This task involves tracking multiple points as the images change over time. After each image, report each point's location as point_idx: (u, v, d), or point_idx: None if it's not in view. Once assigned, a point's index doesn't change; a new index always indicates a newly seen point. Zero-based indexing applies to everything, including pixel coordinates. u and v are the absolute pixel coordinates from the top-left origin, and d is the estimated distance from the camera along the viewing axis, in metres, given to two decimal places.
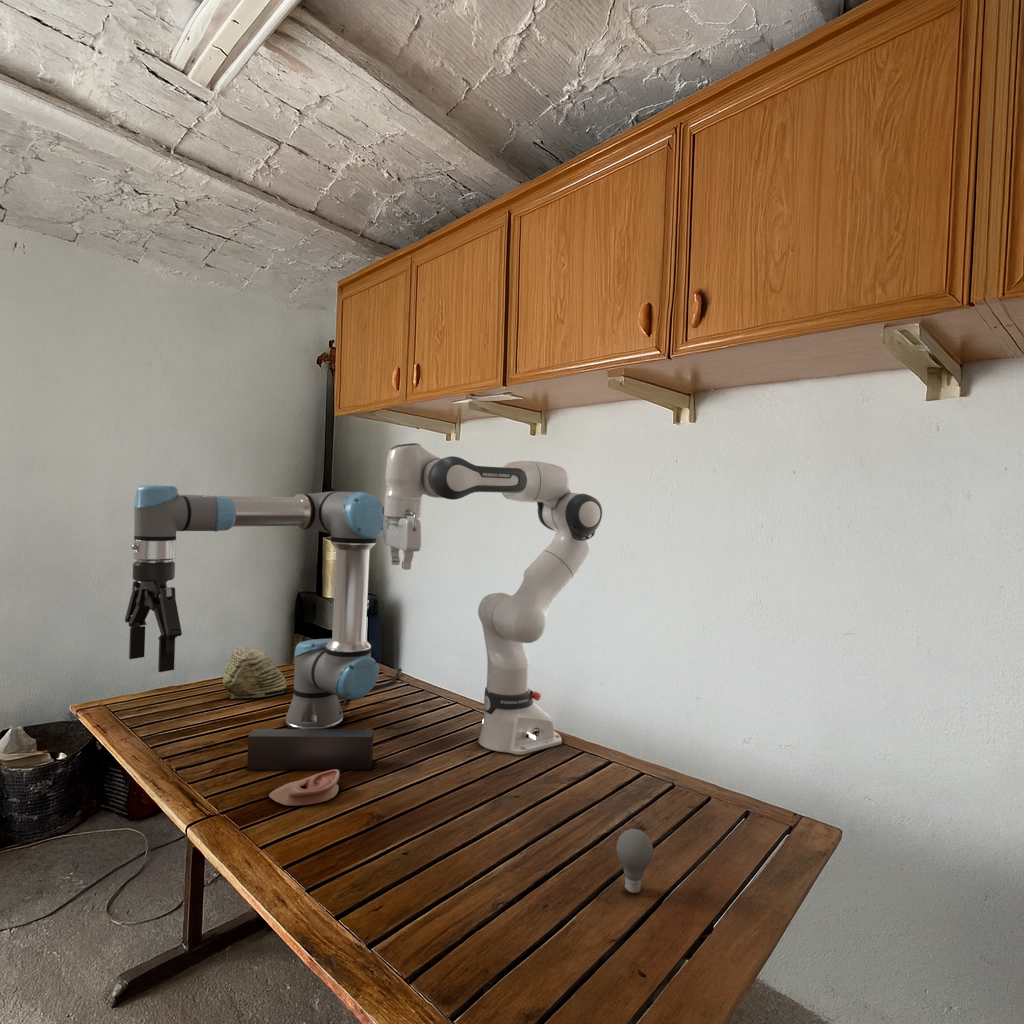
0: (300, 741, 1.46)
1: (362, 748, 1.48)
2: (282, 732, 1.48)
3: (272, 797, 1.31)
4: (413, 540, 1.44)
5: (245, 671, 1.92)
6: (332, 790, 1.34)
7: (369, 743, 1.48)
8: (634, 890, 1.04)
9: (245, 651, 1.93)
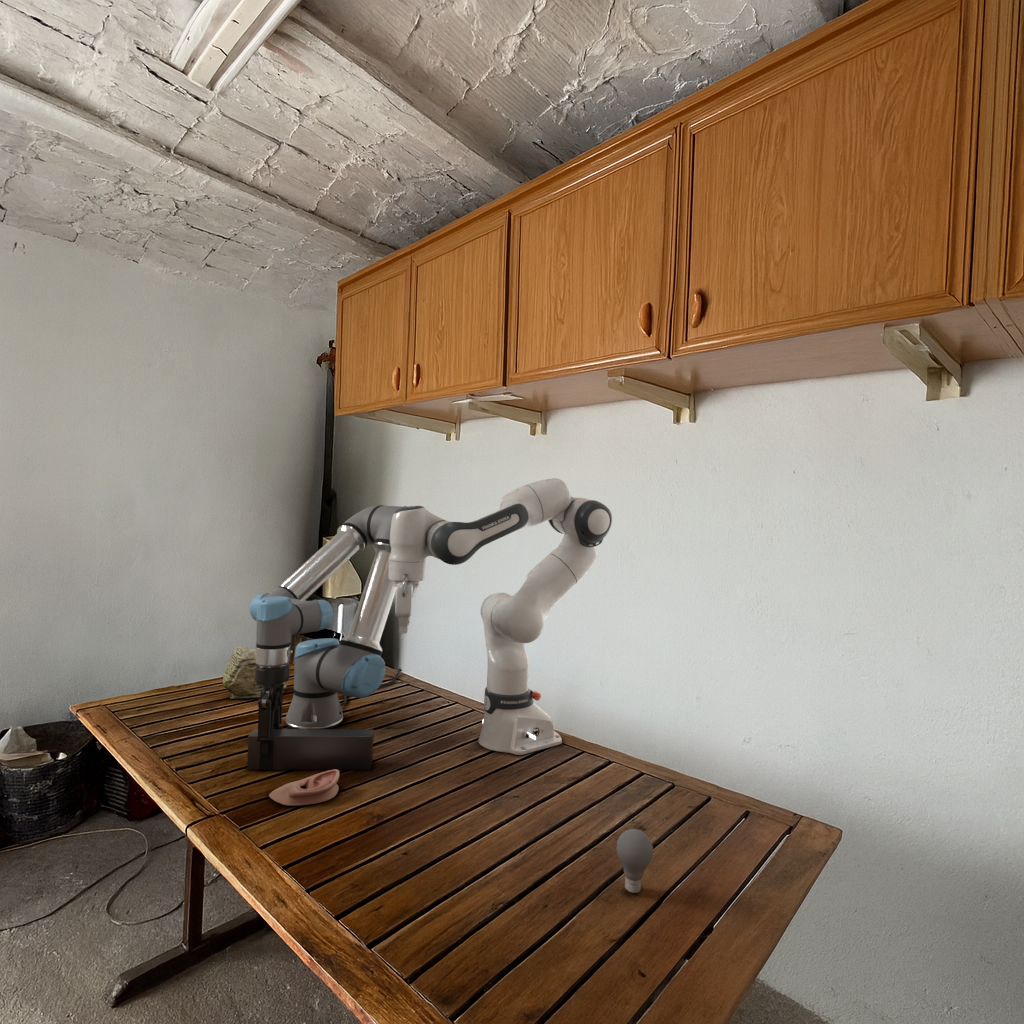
0: (300, 741, 1.46)
1: (362, 748, 1.48)
2: (282, 732, 1.48)
3: (272, 797, 1.31)
4: (402, 606, 1.44)
5: (245, 671, 1.92)
6: (332, 790, 1.34)
7: (369, 743, 1.48)
8: (634, 890, 1.04)
9: (245, 651, 1.93)
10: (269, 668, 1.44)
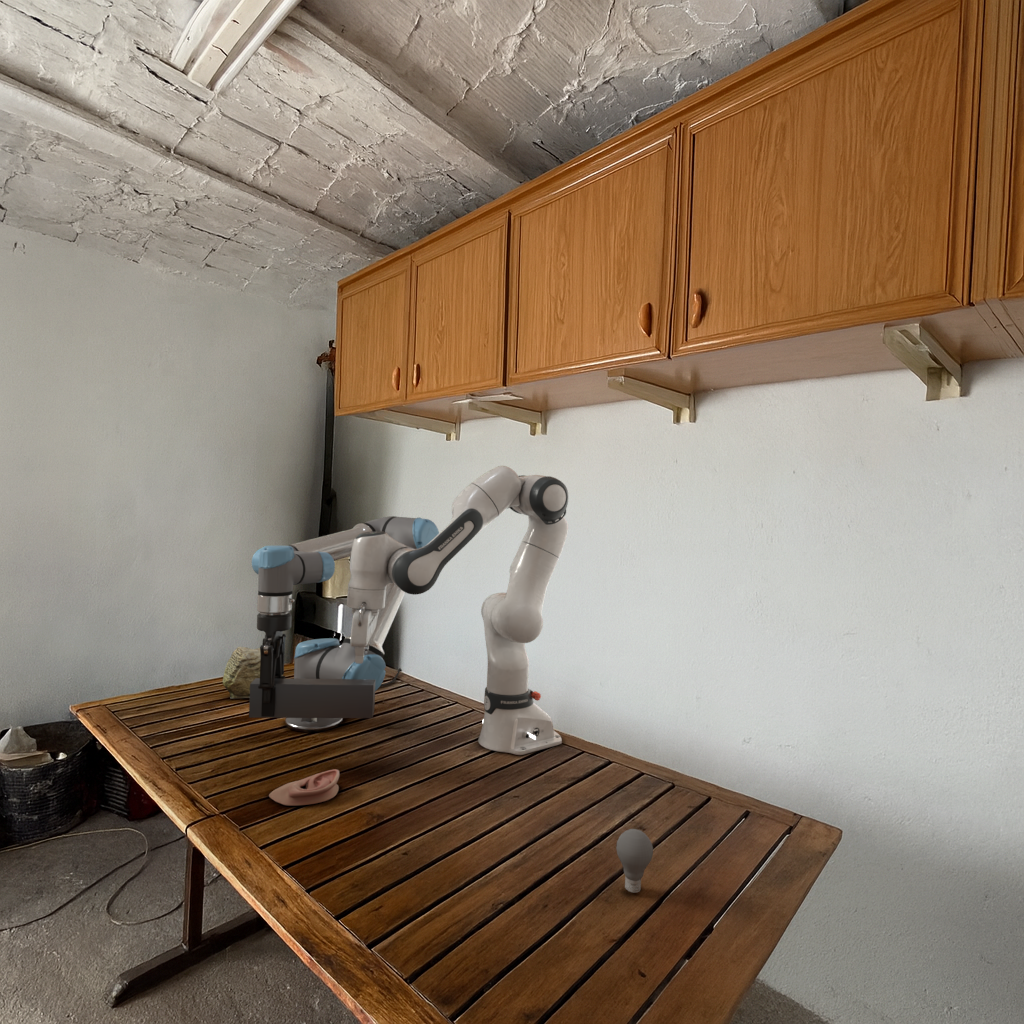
0: (302, 689, 1.46)
1: (364, 696, 1.48)
2: (284, 680, 1.48)
3: (272, 797, 1.31)
4: (357, 636, 1.40)
5: (245, 671, 1.92)
6: (332, 790, 1.34)
7: (371, 692, 1.48)
8: (634, 890, 1.04)
9: (245, 651, 1.93)
10: (271, 616, 1.44)
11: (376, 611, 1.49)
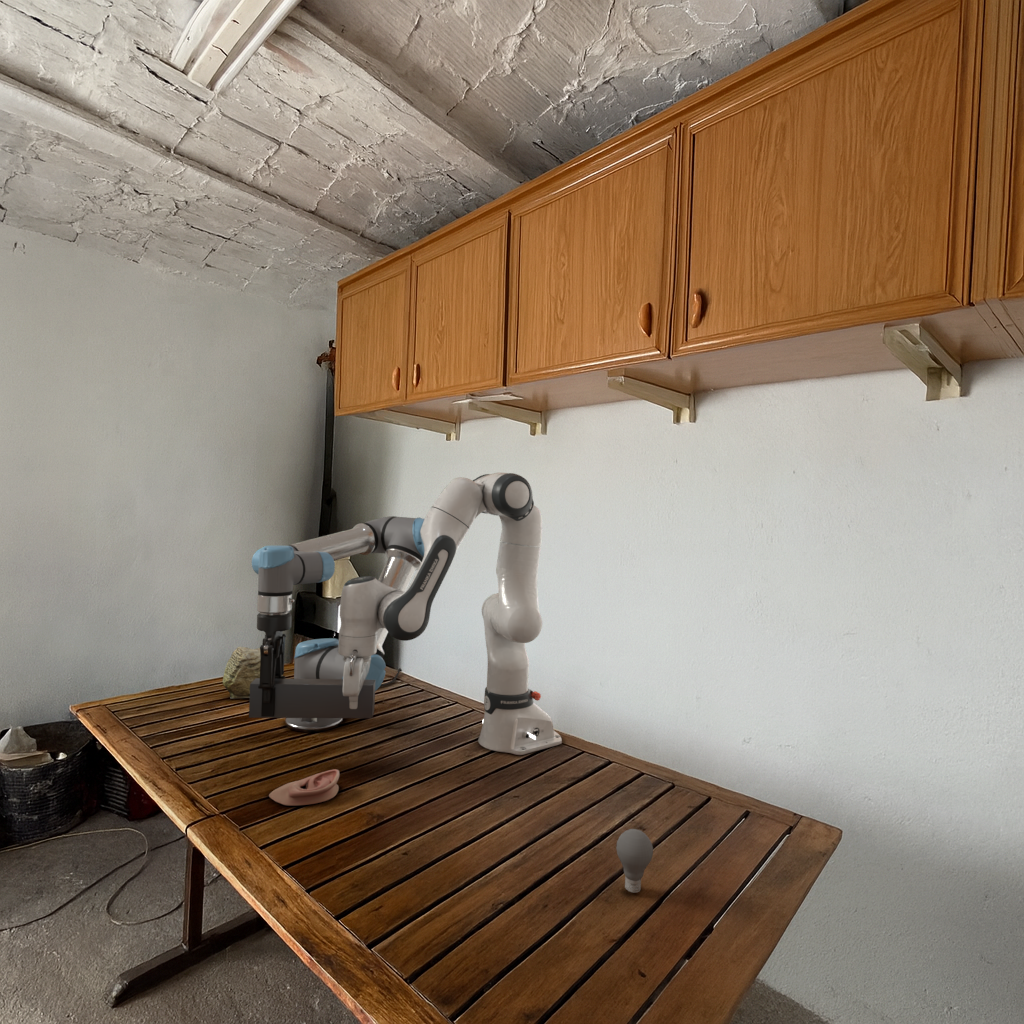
0: (301, 689, 1.46)
1: (364, 697, 1.47)
2: (284, 680, 1.48)
3: (272, 797, 1.31)
4: (349, 686, 1.40)
5: (245, 671, 1.92)
6: (332, 790, 1.34)
7: (371, 692, 1.48)
8: (634, 890, 1.04)
9: (245, 651, 1.93)
10: (271, 616, 1.44)
11: (368, 657, 1.48)
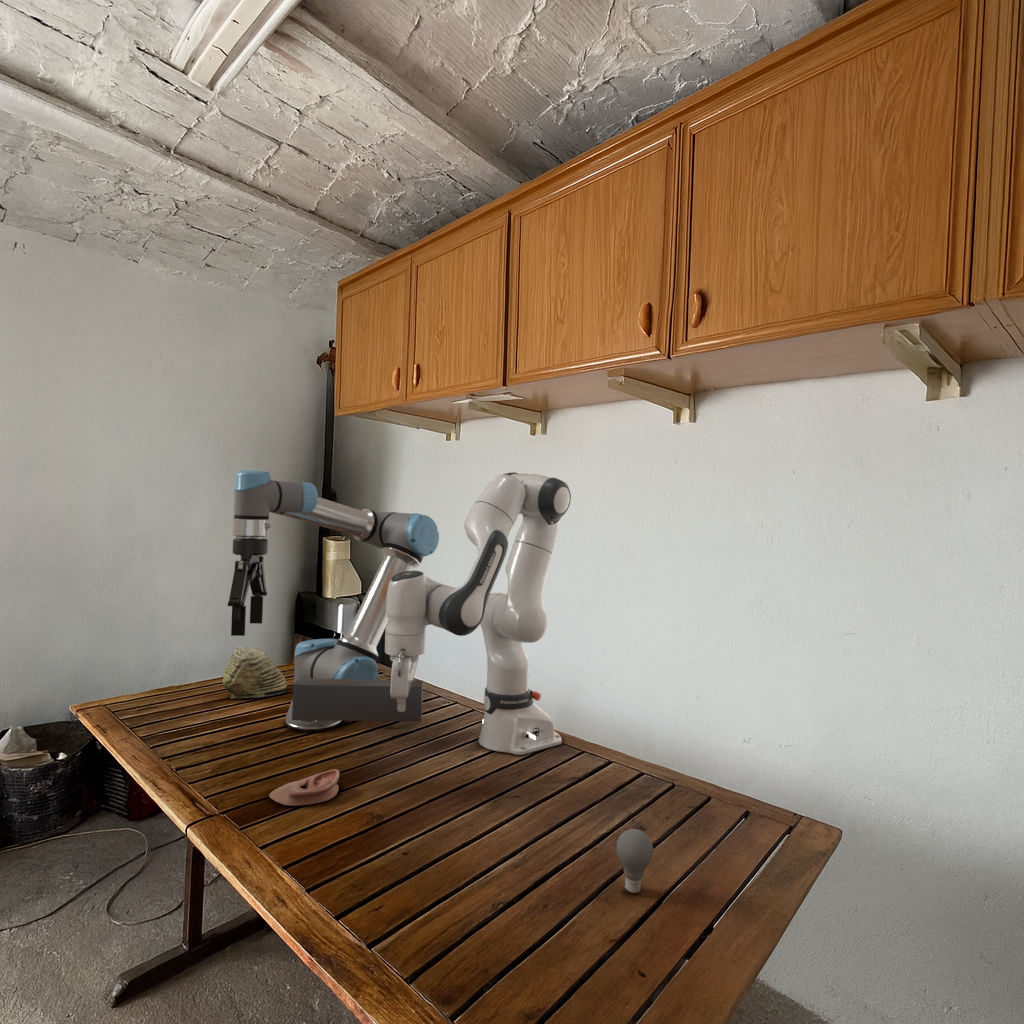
0: (347, 690, 1.38)
1: (412, 699, 1.39)
2: (328, 681, 1.40)
3: (272, 797, 1.31)
4: (398, 687, 1.31)
5: (245, 671, 1.92)
6: (332, 790, 1.34)
7: (419, 694, 1.39)
8: (634, 890, 1.04)
9: (245, 651, 1.93)
10: (246, 539, 1.43)
11: (416, 657, 1.40)
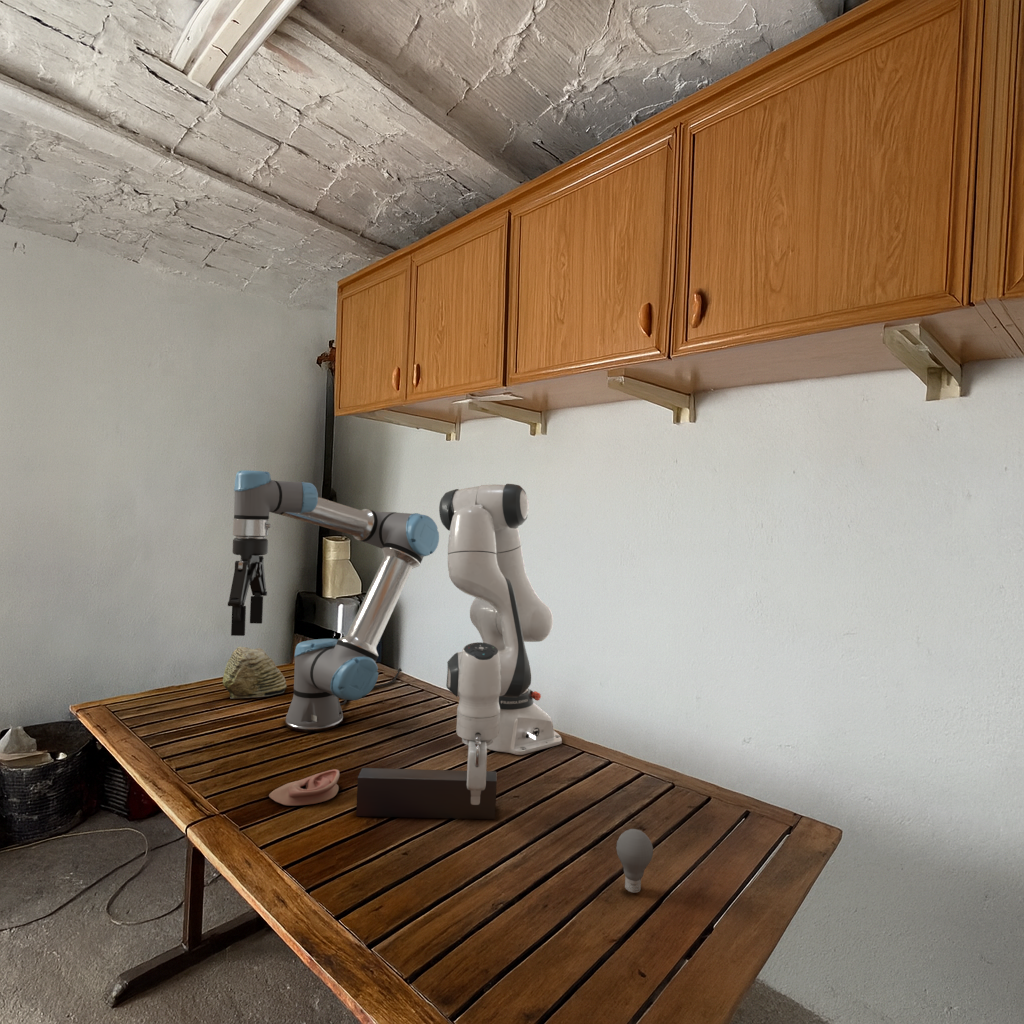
0: (415, 784, 1.27)
1: (486, 794, 1.27)
2: (394, 772, 1.29)
3: (272, 797, 1.31)
4: (475, 778, 1.19)
5: (245, 671, 1.92)
6: (332, 790, 1.34)
7: (494, 789, 1.27)
8: (634, 890, 1.04)
9: (245, 651, 1.93)
10: (246, 539, 1.43)
11: (491, 739, 1.28)
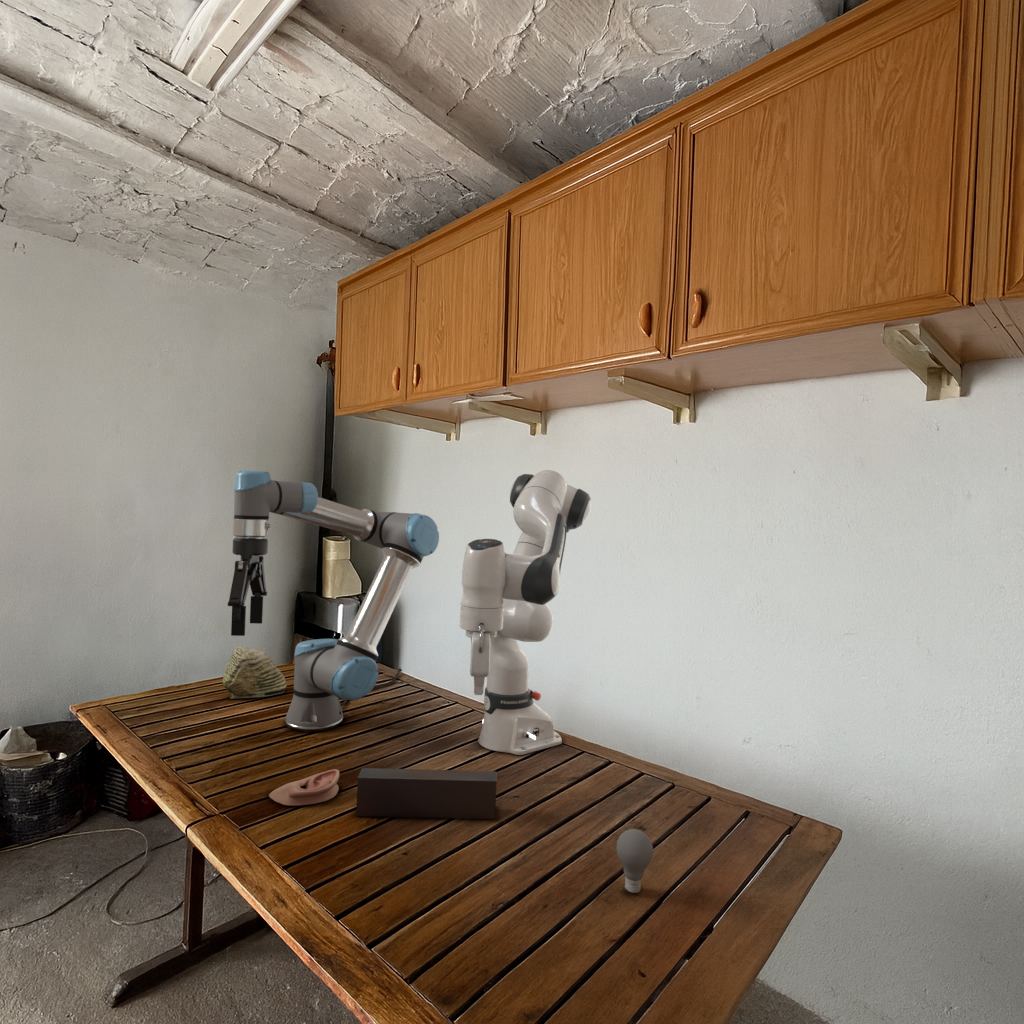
0: (415, 784, 1.27)
1: (486, 794, 1.27)
2: (394, 772, 1.29)
3: (272, 797, 1.31)
4: (478, 664, 1.19)
5: (245, 671, 1.92)
6: (332, 790, 1.34)
7: (494, 789, 1.27)
8: (634, 890, 1.04)
9: (245, 651, 1.93)
10: (246, 539, 1.43)
11: (494, 633, 1.27)
